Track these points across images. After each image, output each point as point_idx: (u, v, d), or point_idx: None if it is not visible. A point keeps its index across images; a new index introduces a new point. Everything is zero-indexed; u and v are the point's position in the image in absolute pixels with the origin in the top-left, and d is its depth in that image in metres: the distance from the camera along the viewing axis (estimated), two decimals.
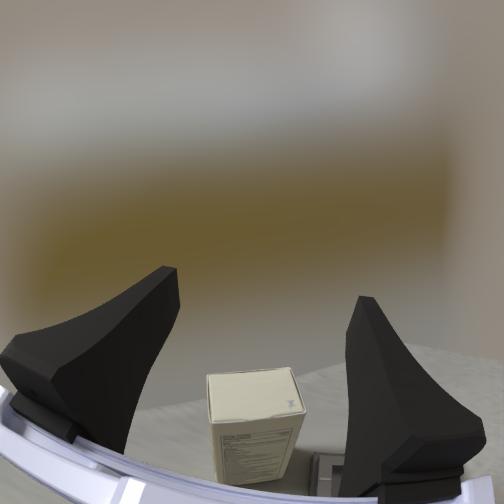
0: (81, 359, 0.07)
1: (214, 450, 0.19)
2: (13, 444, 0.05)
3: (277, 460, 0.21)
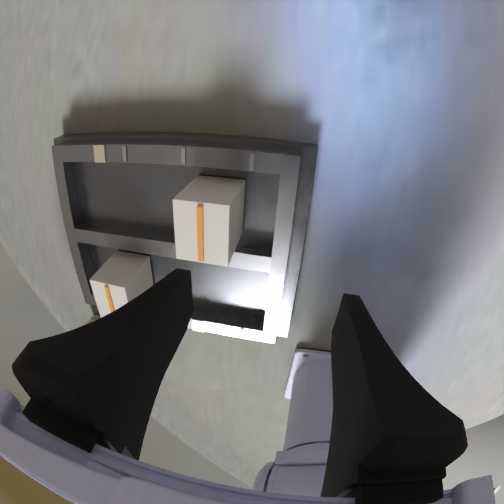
0: (101, 366, 0.06)
1: None
2: (13, 444, 0.05)
3: None
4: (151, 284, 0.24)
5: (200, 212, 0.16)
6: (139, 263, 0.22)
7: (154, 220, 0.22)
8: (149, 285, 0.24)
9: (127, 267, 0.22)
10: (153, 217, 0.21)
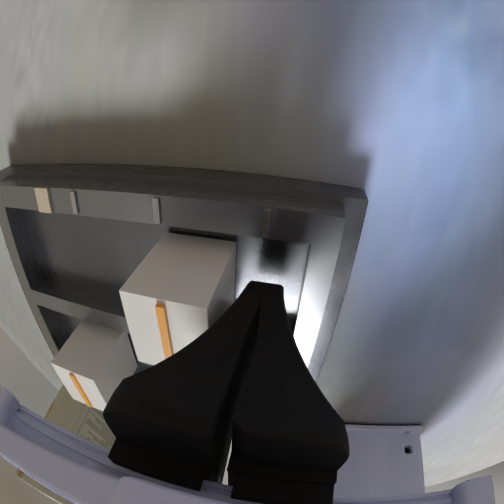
0: (223, 400, 0.06)
1: None
2: (13, 444, 0.05)
3: (85, 428, 0.19)
4: (131, 359, 0.18)
5: (162, 312, 0.10)
6: (112, 340, 0.16)
7: None
8: (129, 361, 0.17)
9: (97, 346, 0.15)
10: None
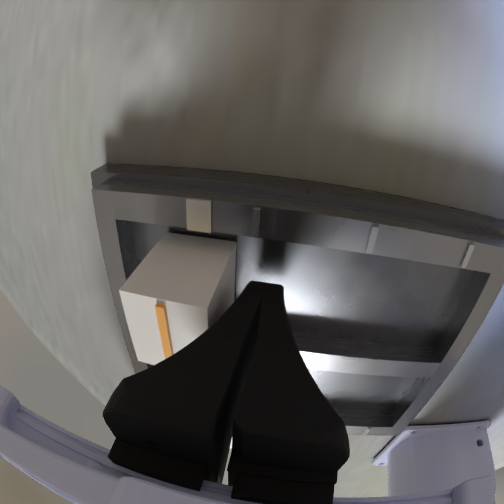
0: (223, 400, 0.06)
1: None
2: (13, 444, 0.05)
3: None
4: None
5: (162, 312, 0.10)
6: None
7: None
8: None
9: None
10: None
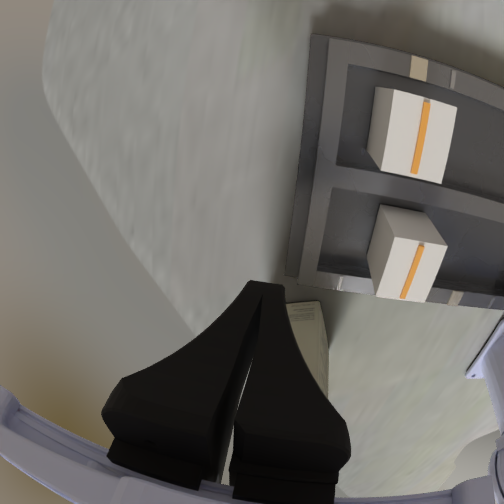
0: (221, 399, 0.06)
1: None
2: (13, 444, 0.05)
3: (321, 361, 0.19)
4: None
5: (425, 110, 0.11)
6: (426, 220, 0.16)
7: (446, 168, 0.15)
8: None
9: (420, 223, 0.15)
10: None
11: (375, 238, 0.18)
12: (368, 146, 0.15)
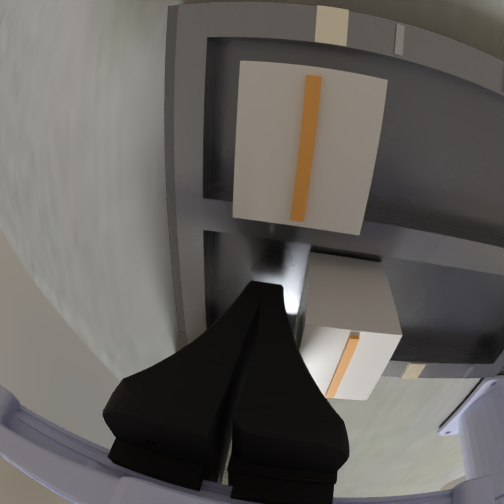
0: (223, 400, 0.06)
1: None
2: (13, 444, 0.05)
3: None
4: None
5: (312, 92, 0.06)
6: (380, 278, 0.11)
7: (398, 190, 0.10)
8: None
9: (366, 288, 0.10)
10: (398, 184, 0.10)
11: (301, 301, 0.12)
12: None
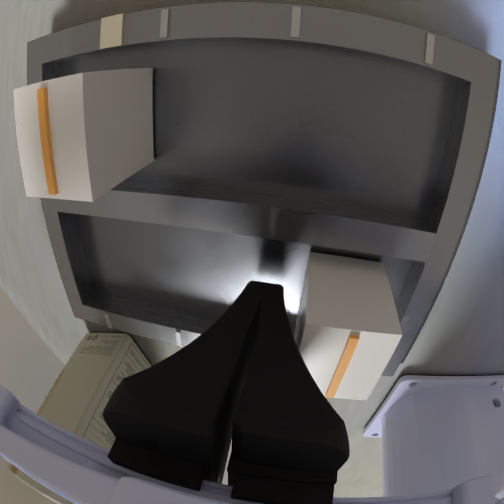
0: (223, 400, 0.06)
1: None
2: (13, 444, 0.05)
3: (105, 403, 0.15)
4: None
5: (44, 99, 0.07)
6: (380, 278, 0.11)
7: (206, 164, 0.11)
8: None
9: (366, 287, 0.10)
10: (204, 158, 0.11)
11: (301, 301, 0.12)
12: None
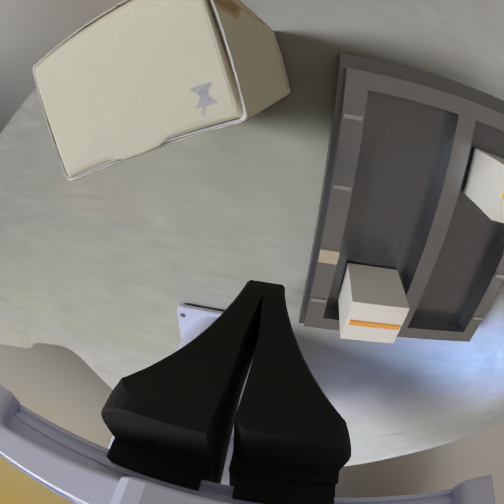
0: (221, 400, 0.06)
1: None
2: (13, 444, 0.05)
3: None
4: None
5: None
6: None
7: (453, 220, 0.18)
8: None
9: None
10: (456, 219, 0.18)
11: (374, 273, 0.20)
12: (481, 150, 0.14)
